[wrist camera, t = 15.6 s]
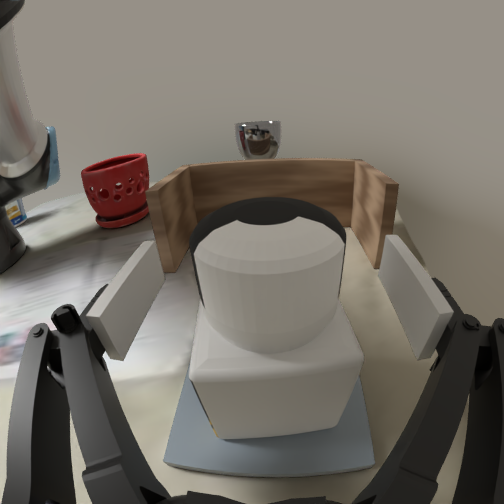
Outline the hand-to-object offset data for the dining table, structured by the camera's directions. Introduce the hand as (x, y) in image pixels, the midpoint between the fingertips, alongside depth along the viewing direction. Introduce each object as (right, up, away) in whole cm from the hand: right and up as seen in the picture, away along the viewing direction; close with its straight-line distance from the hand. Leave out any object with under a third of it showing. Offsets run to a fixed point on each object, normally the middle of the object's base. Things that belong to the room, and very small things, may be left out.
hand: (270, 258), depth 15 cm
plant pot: (-26, +7, +34) cm, 43 cm away
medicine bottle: (0, -9, +1) cm, 9 cm away
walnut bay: (+2, +1, +21) cm, 21 cm away
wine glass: (+1, +9, +35) cm, 36 cm away
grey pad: (0, -9, +2) cm, 10 cm away
